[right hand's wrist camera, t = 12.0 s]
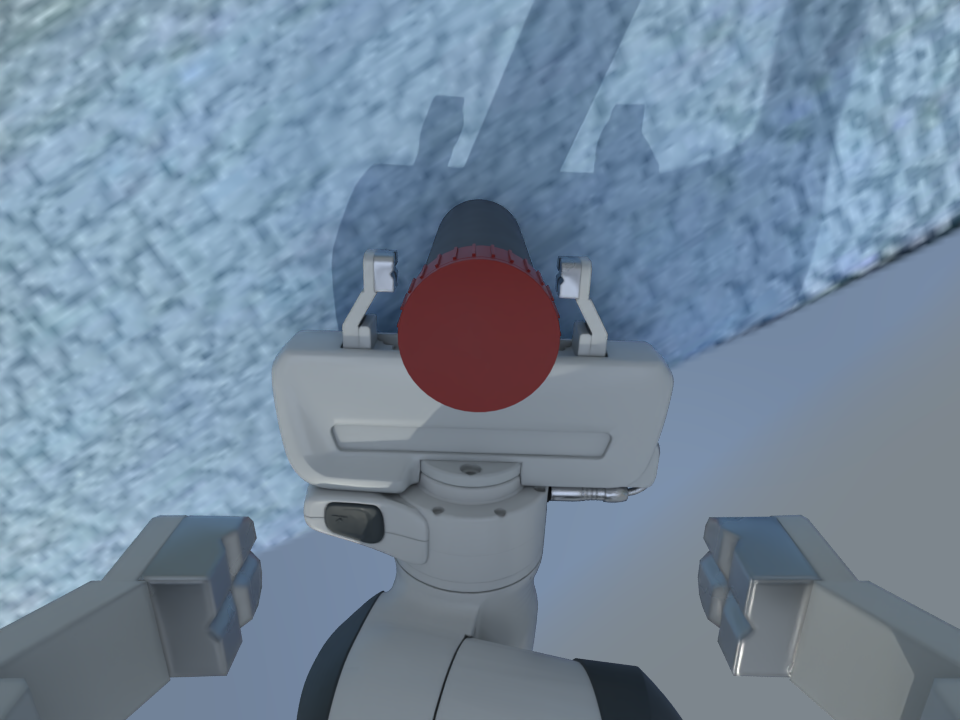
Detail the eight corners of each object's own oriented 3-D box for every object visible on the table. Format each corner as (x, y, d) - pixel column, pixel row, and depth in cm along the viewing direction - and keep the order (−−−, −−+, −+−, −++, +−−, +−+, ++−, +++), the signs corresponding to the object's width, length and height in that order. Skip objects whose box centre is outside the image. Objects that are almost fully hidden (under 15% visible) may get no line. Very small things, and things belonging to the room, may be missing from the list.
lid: (547, 391, 23) (554, 418, 21) (402, 384, 23) (394, 410, 21) (562, 247, 21) (571, 261, 19) (403, 238, 21) (395, 252, 19)
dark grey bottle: (518, 286, 36) (544, 404, 22) (435, 282, 36) (405, 397, 22) (525, 201, 34) (558, 267, 20) (437, 197, 34) (406, 259, 20)
